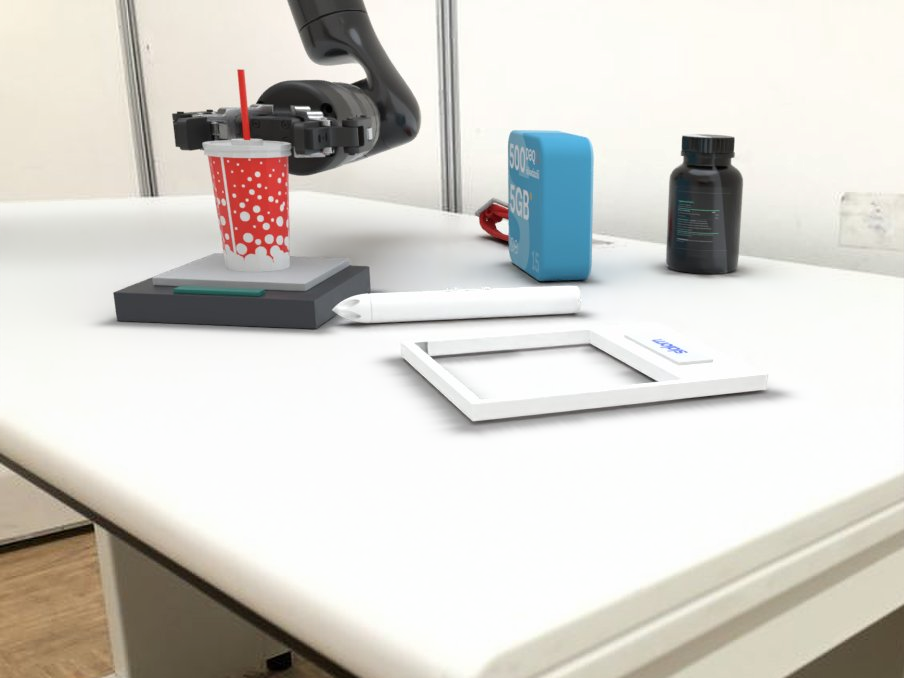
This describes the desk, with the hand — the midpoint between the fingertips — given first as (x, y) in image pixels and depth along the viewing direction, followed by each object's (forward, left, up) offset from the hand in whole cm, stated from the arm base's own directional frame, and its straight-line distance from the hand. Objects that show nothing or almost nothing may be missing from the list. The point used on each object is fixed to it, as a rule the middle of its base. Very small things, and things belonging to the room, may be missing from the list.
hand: (240, 137), depth 79 cm
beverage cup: (0, +1, -10) cm, 10 cm away
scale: (0, -1, -12) cm, 12 cm away
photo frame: (+26, -17, -12) cm, 33 cm away
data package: (+20, +18, -12) cm, 30 cm away
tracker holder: (+16, +36, -12) cm, 41 cm away
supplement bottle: (+34, +23, -12) cm, 43 cm away
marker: (+16, -3, -12) cm, 20 cm away
